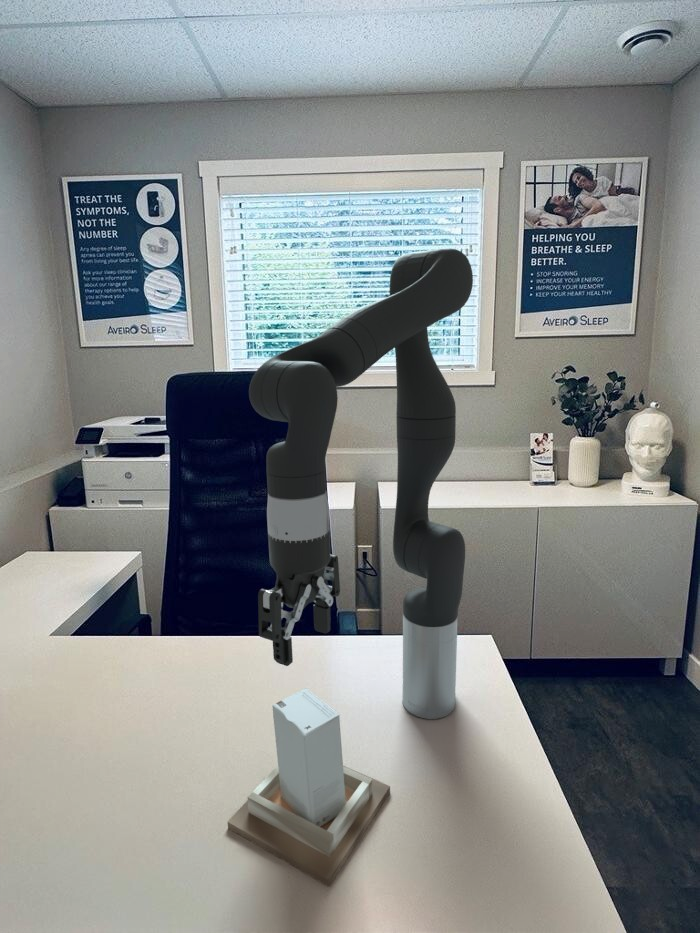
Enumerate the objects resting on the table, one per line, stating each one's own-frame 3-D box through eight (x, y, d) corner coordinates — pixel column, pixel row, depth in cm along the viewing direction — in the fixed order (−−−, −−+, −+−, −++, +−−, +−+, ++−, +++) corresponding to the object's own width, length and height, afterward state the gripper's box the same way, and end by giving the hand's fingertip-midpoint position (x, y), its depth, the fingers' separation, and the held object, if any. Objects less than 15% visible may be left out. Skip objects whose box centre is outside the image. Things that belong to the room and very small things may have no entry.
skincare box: (347, 811, 74) (345, 715, 70) (309, 836, 70) (305, 736, 67) (311, 774, 80) (308, 684, 77) (276, 795, 77) (270, 701, 73)
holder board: (299, 751, 86) (298, 731, 86) (390, 792, 78) (390, 771, 77) (227, 827, 73) (226, 805, 72) (328, 886, 65) (328, 862, 64)
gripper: (288, 552, 59) (295, 685, 63) (354, 515, 71) (357, 628, 75) (235, 541, 63) (245, 666, 67) (307, 507, 75) (311, 615, 79)
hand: (304, 646), depth 71 cm, fingers open, 8 cm apart
